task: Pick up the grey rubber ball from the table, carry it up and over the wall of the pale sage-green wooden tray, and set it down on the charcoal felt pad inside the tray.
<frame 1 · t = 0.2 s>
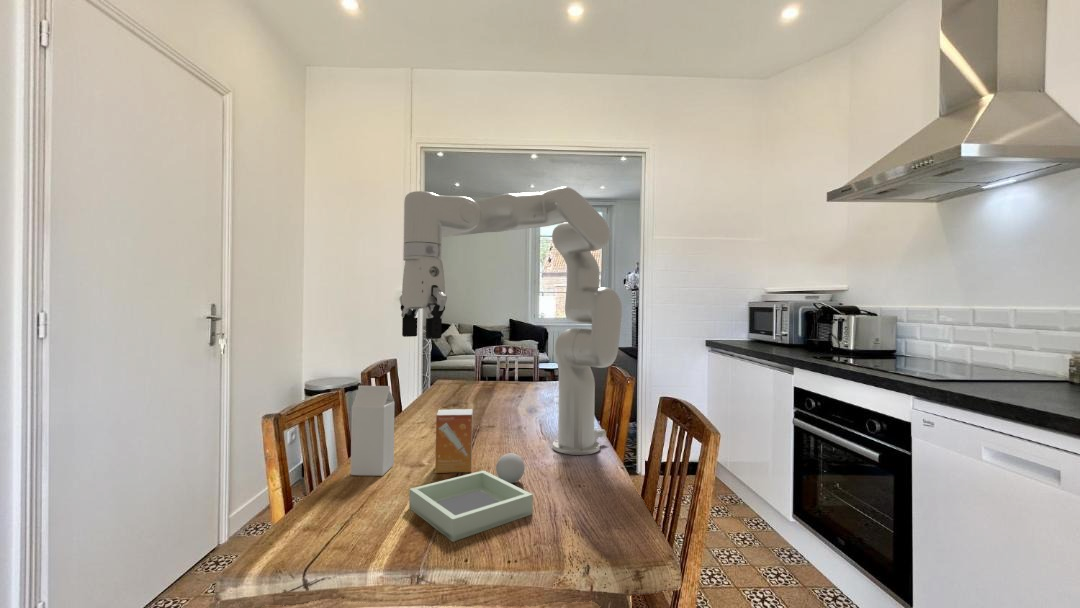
hand: (421, 337, 95), 31 cm above the table, fingers open, 9 cm apart
small box: (454, 469, 107), on the table
tray: (470, 511, 84), on the table
ball: (510, 468, 98), point 3 cm above the table
felt pad: (470, 505, 84), in the tray, point 1 cm above the table
milk carton: (372, 471, 105), on the table
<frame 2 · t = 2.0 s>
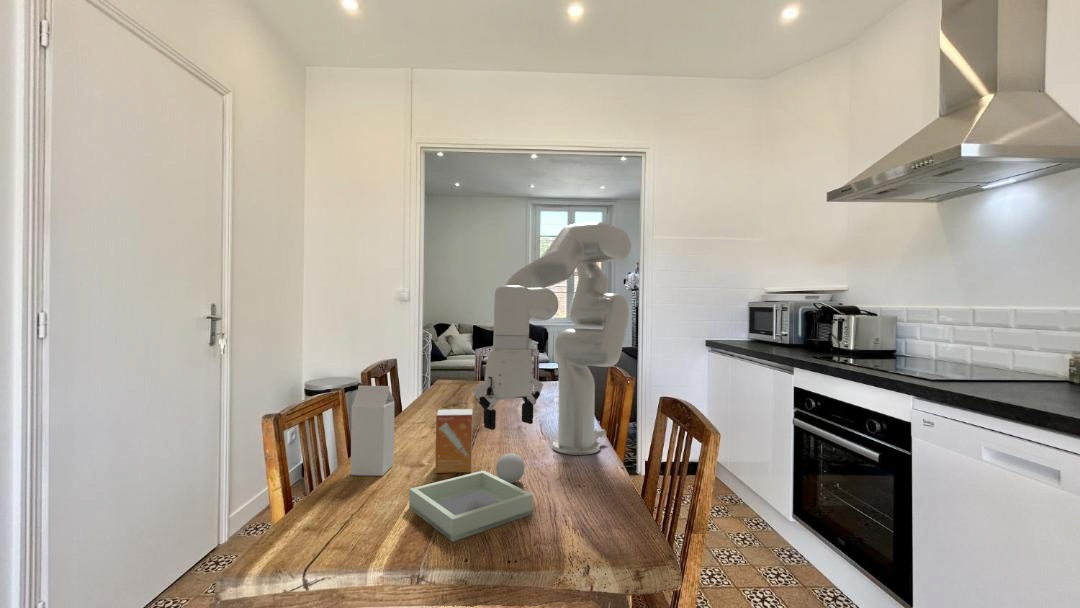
hand: (508, 425, 98), 12 cm above the table, fingers open, 9 cm apart
nothing on the table moved.
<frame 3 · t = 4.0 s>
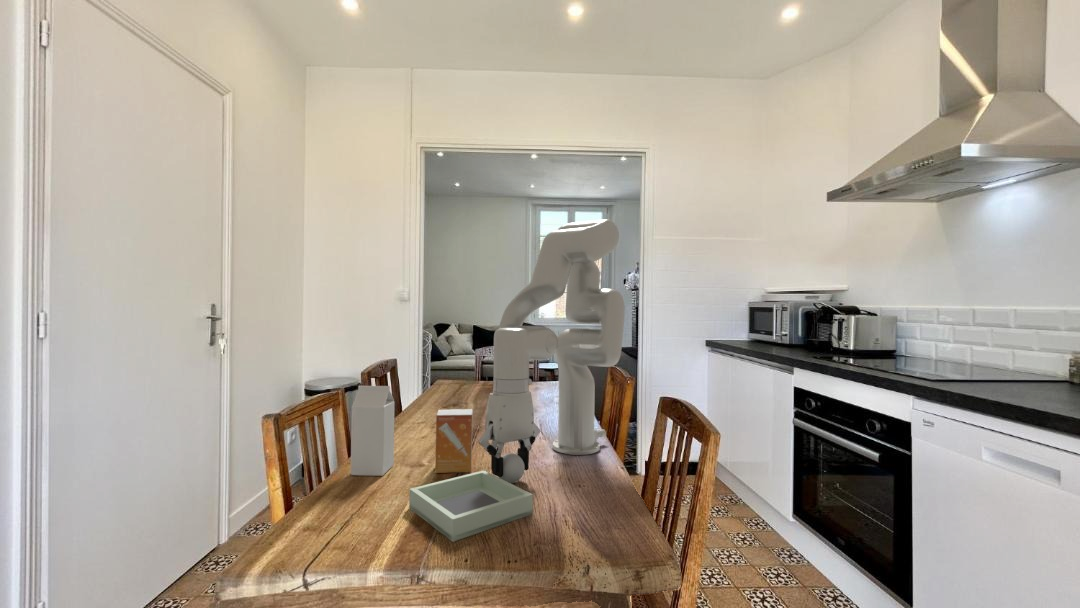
hand: (510, 471, 98), 2 cm above the table, fingers closed on ball, 5 cm apart
ball: (510, 468, 98), point 3 cm above the table, touching gripper
everything else where it was.
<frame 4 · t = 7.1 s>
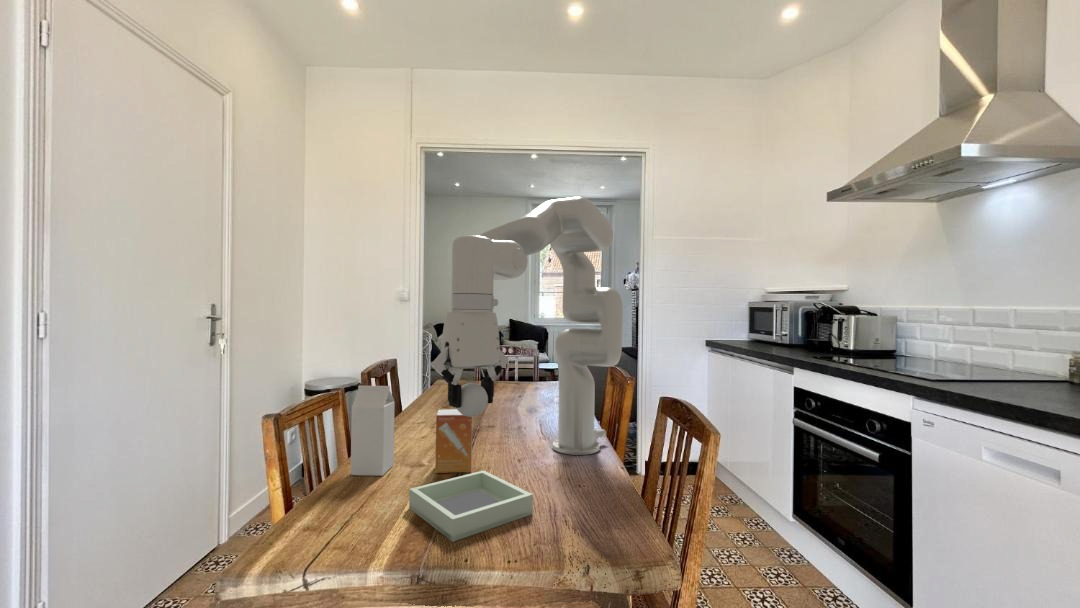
hand: (471, 403, 84), 19 cm above the table, fingers closed on ball, 5 cm apart
ball: (471, 399, 84), point 20 cm above the table, touching gripper
everything else where it was.
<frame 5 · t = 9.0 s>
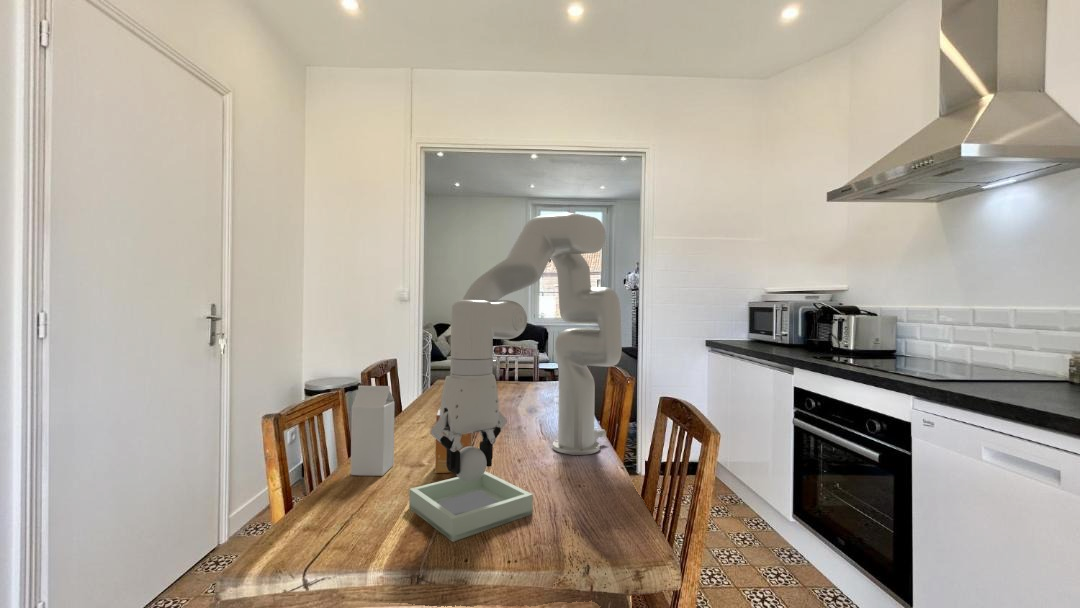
hand: (469, 467, 84), 8 cm above the table, fingers closed on ball, 5 cm apart
ball: (470, 463, 84), point 9 cm above the table, touching gripper
everything else where it was.
when the fingers open (5 cm above the table, at t = 10.5 s): ball drops 2 cm, resting on felt pad.
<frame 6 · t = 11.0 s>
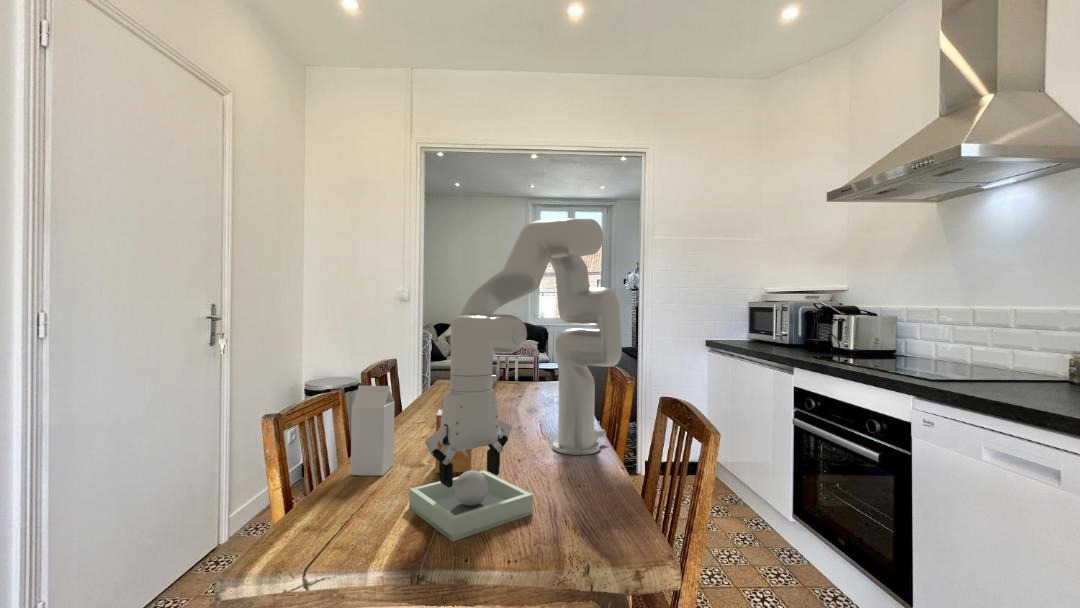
hand: (470, 478, 84), 6 cm above the table, fingers open, 9 cm apart
ball: (471, 487, 84), point 4 cm above the table, touching felt pad
everything else where it was.
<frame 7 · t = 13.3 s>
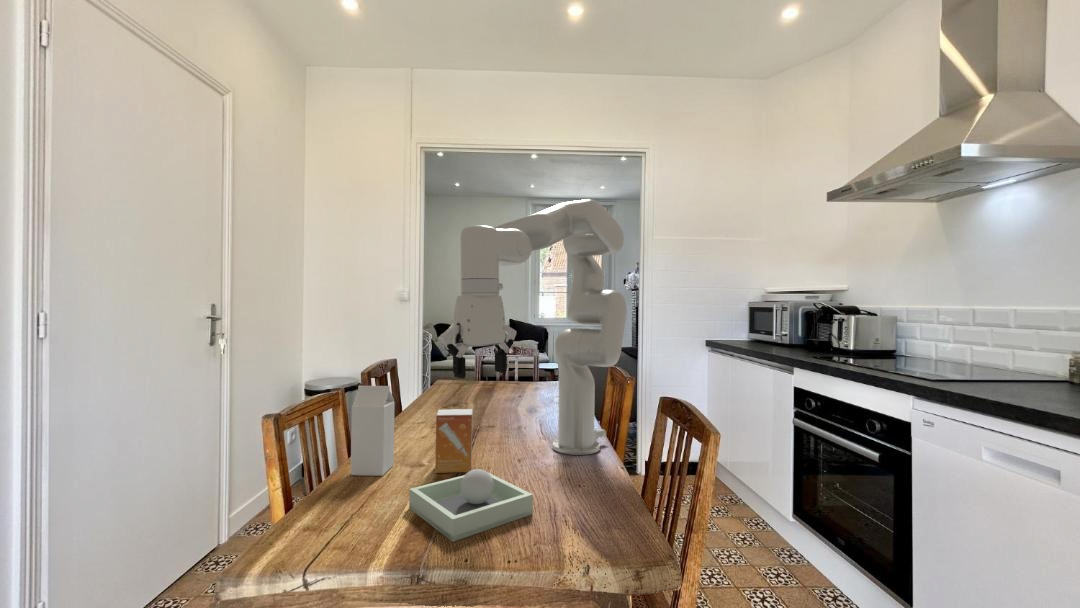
hand: (480, 374, 93), 23 cm above the table, fingers open, 9 cm apart
ball: (477, 486, 85), point 4 cm above the table, tilted 27°, touching felt pad
everything else where it was.
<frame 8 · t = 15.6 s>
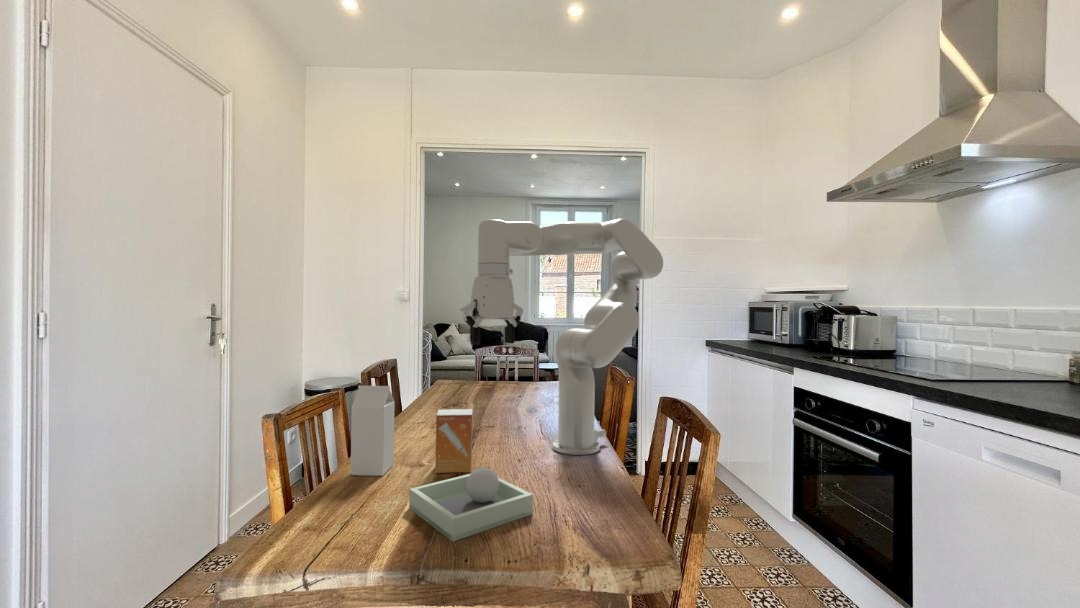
hand: (492, 343, 111), 28 cm above the table, fingers open, 9 cm apart
ball: (482, 484, 86), point 4 cm above the table, tilted 50°, touching felt pad
everything else where it was.
at the end: ball inside the target area (2.6 cm from its centre), point 4.1 cm above the table; the gripper is holding nothing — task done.
